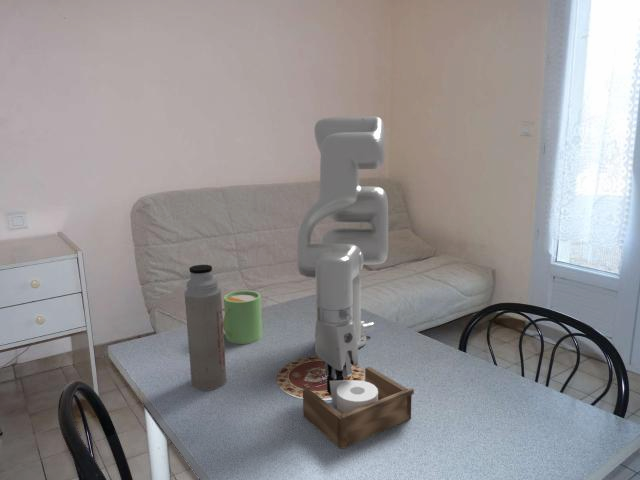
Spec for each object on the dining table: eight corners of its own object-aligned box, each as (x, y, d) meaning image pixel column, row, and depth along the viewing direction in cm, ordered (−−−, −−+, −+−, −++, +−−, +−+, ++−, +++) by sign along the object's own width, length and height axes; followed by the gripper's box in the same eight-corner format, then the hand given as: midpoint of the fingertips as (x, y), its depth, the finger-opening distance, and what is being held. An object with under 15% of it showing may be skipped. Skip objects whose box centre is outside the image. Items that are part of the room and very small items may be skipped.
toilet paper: (333, 404, 108) (332, 374, 107) (383, 416, 104) (383, 385, 102) (316, 424, 101) (315, 392, 100) (369, 438, 96) (369, 405, 95)
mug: (243, 326, 151) (240, 288, 149) (269, 334, 145) (267, 294, 143) (211, 341, 141) (208, 300, 139) (238, 350, 135) (235, 307, 133)
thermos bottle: (231, 375, 122) (224, 262, 116) (218, 392, 114) (210, 272, 108) (200, 372, 123) (192, 261, 117) (185, 389, 116) (175, 270, 110)
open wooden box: (369, 391, 113) (369, 363, 112) (413, 419, 102) (413, 389, 101) (303, 416, 104) (302, 386, 102) (343, 450, 93) (343, 417, 91)
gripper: (371, 319, 101) (370, 402, 105) (329, 298, 113) (330, 373, 117) (340, 328, 97) (341, 414, 101) (300, 305, 109) (302, 383, 113)
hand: (335, 392), depth 109 cm, fingers closed
